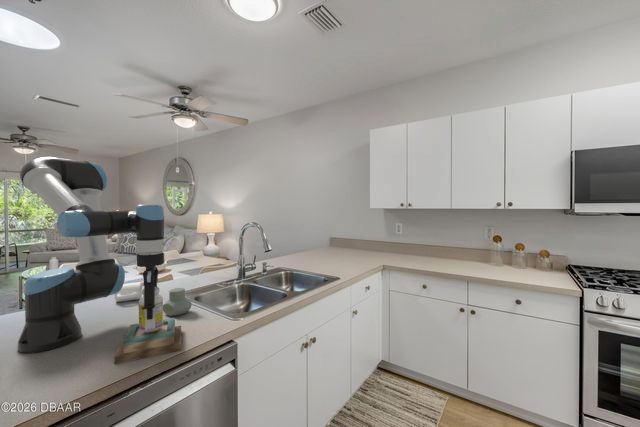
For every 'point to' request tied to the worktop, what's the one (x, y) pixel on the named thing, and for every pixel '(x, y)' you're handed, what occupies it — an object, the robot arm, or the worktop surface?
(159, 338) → the display stand
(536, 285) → the worktop surface
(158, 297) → the supplement bottle
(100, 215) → the robot arm
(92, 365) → the worktop surface
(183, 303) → the green pipe tee
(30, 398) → the worktop surface
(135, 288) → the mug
